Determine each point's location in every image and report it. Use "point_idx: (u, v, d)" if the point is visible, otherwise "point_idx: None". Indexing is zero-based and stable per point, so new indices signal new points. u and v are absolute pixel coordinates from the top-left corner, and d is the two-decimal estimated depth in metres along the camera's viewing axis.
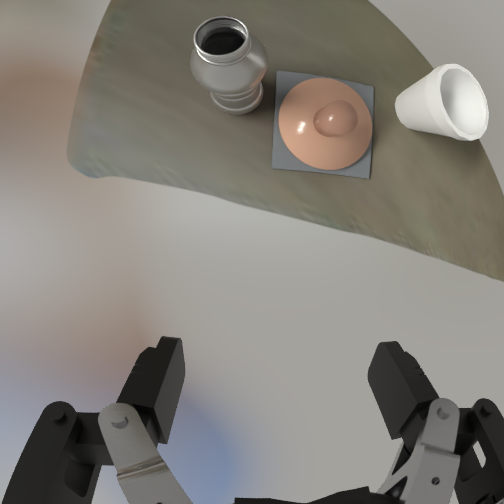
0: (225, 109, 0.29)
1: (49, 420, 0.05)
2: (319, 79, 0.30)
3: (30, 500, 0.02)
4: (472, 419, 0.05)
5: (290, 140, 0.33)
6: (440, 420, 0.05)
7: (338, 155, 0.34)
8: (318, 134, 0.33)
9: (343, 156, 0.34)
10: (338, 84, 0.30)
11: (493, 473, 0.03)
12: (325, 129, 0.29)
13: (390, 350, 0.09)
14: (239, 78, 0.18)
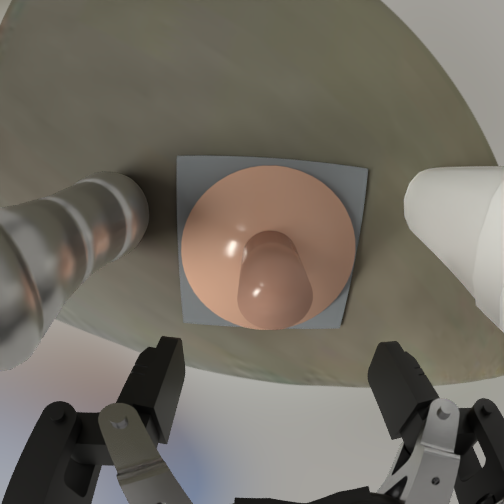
0: None
1: (49, 420, 0.05)
2: (256, 170, 0.18)
3: (30, 500, 0.02)
4: (472, 419, 0.05)
5: (203, 290, 0.21)
6: (440, 420, 0.05)
7: None
8: None
9: None
10: (296, 176, 0.18)
11: (493, 473, 0.03)
12: None
13: (390, 350, 0.09)
14: None
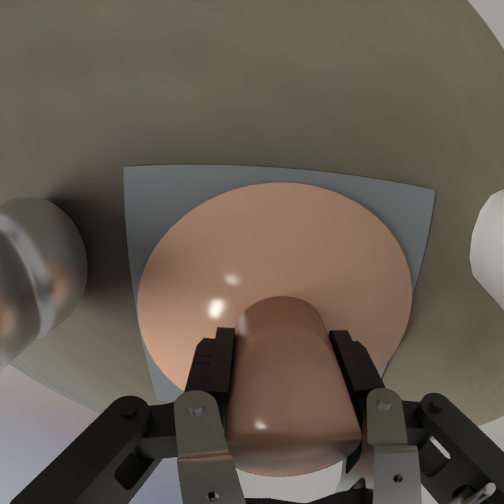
0: None
1: (117, 413, 0.06)
2: (259, 191, 0.10)
3: (68, 485, 0.03)
4: (422, 418, 0.06)
5: (178, 374, 0.13)
6: (376, 410, 0.06)
7: None
8: None
9: None
10: (330, 203, 0.10)
11: (463, 467, 0.04)
12: None
13: (337, 338, 0.10)
14: None
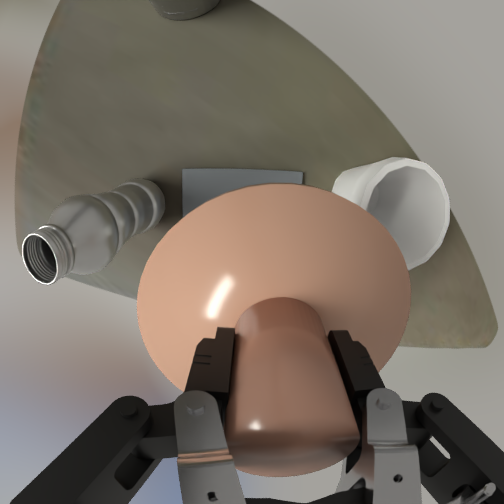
0: None
1: (117, 413, 0.06)
2: (258, 192, 0.10)
3: (68, 485, 0.03)
4: (422, 418, 0.06)
5: (178, 375, 0.13)
6: (376, 410, 0.06)
7: None
8: None
9: None
10: (329, 204, 0.10)
11: (463, 467, 0.04)
12: None
13: (337, 338, 0.10)
14: (85, 271, 0.17)
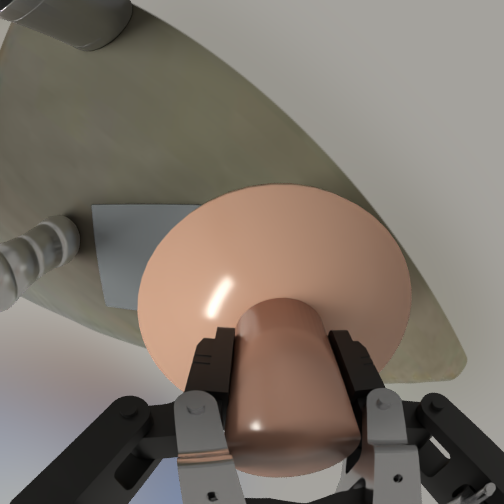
0: None
1: (117, 413, 0.06)
2: (259, 193, 0.10)
3: (68, 485, 0.03)
4: (422, 418, 0.06)
5: (178, 375, 0.13)
6: (376, 410, 0.06)
7: None
8: None
9: None
10: (330, 205, 0.10)
11: (463, 467, 0.04)
12: None
13: (337, 338, 0.10)
14: None
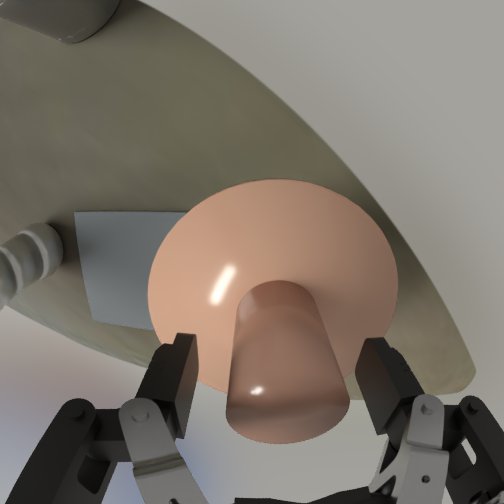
0: None
1: (67, 417, 0.05)
2: (256, 187, 0.11)
3: (39, 495, 0.02)
4: (459, 417, 0.05)
5: None
6: (423, 416, 0.06)
7: None
8: None
9: None
10: (319, 196, 0.11)
11: (485, 470, 0.03)
12: None
13: (375, 345, 0.09)
14: None
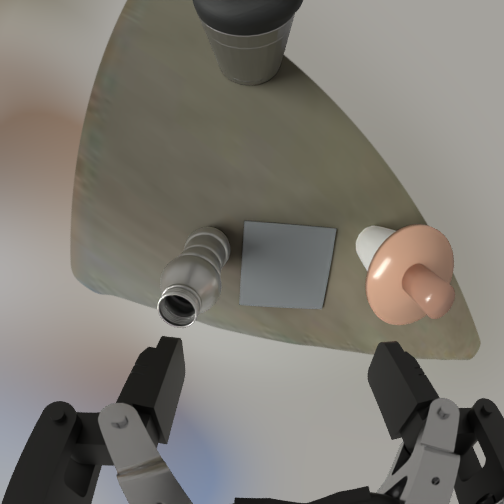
0: None
1: (49, 420, 0.05)
2: (418, 228, 0.26)
3: (30, 500, 0.02)
4: (472, 419, 0.05)
5: (376, 301, 0.29)
6: (440, 420, 0.05)
7: (416, 310, 0.30)
8: (403, 292, 0.29)
9: (419, 310, 0.30)
10: (434, 232, 0.27)
11: (493, 473, 0.03)
12: (419, 306, 0.25)
13: (390, 350, 0.09)
14: None
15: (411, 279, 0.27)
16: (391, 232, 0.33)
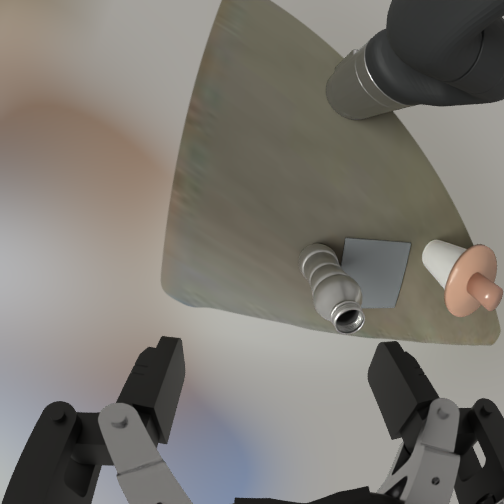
0: None
1: (49, 420, 0.05)
2: (479, 247, 0.32)
3: (30, 500, 0.02)
4: (472, 419, 0.05)
5: (451, 300, 0.35)
6: (440, 420, 0.05)
7: (472, 305, 0.35)
8: (466, 293, 0.34)
9: (474, 305, 0.35)
10: (488, 250, 0.32)
11: (493, 473, 0.03)
12: (480, 302, 0.30)
13: (390, 350, 0.09)
14: (346, 320, 0.33)
15: (475, 284, 0.32)
16: (455, 247, 0.38)
